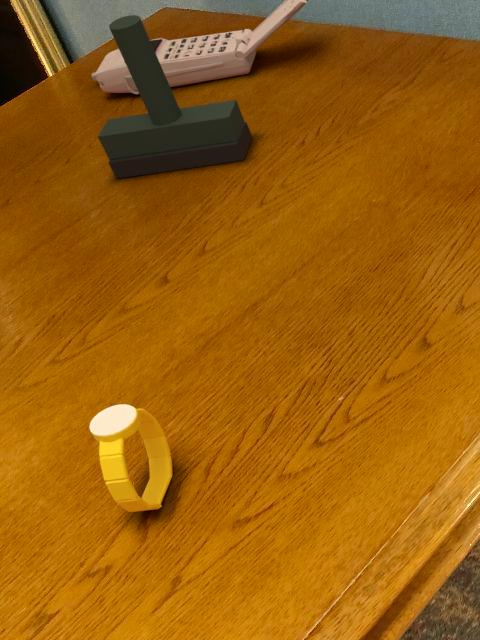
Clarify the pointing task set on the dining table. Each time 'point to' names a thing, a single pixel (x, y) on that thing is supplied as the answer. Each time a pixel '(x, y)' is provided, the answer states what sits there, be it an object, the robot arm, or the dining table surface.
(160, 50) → the mobile phone
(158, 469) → the watch
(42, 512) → the dining table surface
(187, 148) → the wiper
